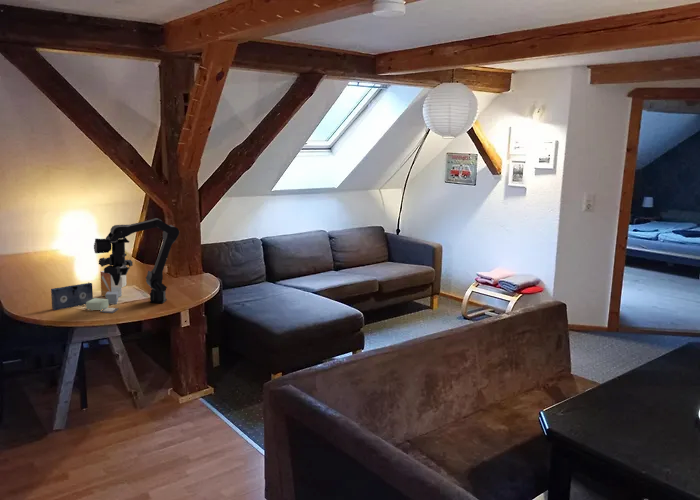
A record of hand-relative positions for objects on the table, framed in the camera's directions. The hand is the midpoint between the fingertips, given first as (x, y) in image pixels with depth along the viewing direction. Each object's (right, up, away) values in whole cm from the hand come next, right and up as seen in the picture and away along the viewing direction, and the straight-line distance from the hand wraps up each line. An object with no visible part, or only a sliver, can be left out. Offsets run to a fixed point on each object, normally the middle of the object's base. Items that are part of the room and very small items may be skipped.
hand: (118, 283), depth 263 cm
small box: (-12, -8, +18) cm, 23 cm away
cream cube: (0, -1, 0) cm, 1 cm away
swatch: (-2, -12, -5) cm, 13 cm away
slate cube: (-7, -10, +8) cm, 14 cm away
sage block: (-9, -12, -2) cm, 15 cm away
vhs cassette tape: (-22, -11, 0) cm, 24 cm away
